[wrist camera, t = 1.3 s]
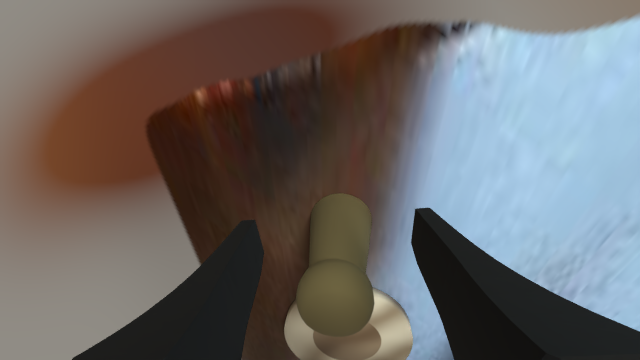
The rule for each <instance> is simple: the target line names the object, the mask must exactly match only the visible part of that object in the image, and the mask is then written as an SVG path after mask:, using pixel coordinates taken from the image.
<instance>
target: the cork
mask: <svg viewBox="0 0 640 360" xmlns="http://www.w3.org/2000/svg"><path fill="white" fill-rule="evenodd" d="M371 226H372V218H371V213H370V211H369V209H368V207H367V206H366V205H365V204H364V203H363V202H362V201H361V200H360V199H358V198H356V197H354V196H352V195H348V194H342V193H340V194H331V195H329V196H326V197H324V198H322V199H321V200H320V201H318V202H317V203H316V204H315V206H314V208H313V210H312V213H311V219H310V250H309V268H308V269H307V270H306V272H305V273H304V275H303V276H302V278H301V280H300V281H299V284H298V288H297V294H296V304H297V308H298V311H299V314H300V316H301V318H302V320H303V321H304V322H305V324H306V325H307V326H308V327H310V328H311V329H312V330H314V331H316V332H318V333H320V334H323V335H327V336H332V337H345V336H349V335H353V334H355V333H357V332H359V331H361V330H362V329H363V328H364V327H365V325H366V324H367V323H368V322H369V320H370V318H371V315H372V312H373V309H374V294H373V287H372V285H371V282H370V280H369V278H368V277H367V275H366V266H367V258H368V250H369V242H370V234H371Z"/></svg>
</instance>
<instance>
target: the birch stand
mask: <svg viewBox="0 0 640 360" xmlns="http://www.w3.org/2000/svg"><path fill="white" fill-rule="evenodd" d="M373 294H374V309H373V312H372V315H371V318H370V320H369V322H368V323H367V324H366V325H365V327H364V328H363V329H362V330H361V331H359V332H357V333H355V334H353V335H349V336H345V337H332V336H327V335H323V334H320V333H318V332H316V331H314V330H312V329H311V328H310V327H308V326H307V325H306V324H305V322H304V321H303V320H302V318H301V316H300V314H299V311H298V308H297V304H296V299H295V300H294V301H293V303H292V304H291V306H290V308H289V311H288V314H287V318H286V322H285V327H284V334H285V339H286V341H287V344H288V346H289V347H290V349H291V350H292V352H293V353H294V354H295V355H296V356H297V357H298V358H299V359H300V360H405V359H406V358H407V357H408V355H409V353H410V351H411V349H412V345H413V337H412V331H411V327H410V322H409V319H408V316H407V314H406V312H405V311H404V309H403V308H402V307H401V305H400V304H399V303H398V302H397V301H395V300H394V299H393V298H392V297H390V296H389V295H387V294H385V293H384V292H382V291H380V290H377V289H375V288H373Z"/></svg>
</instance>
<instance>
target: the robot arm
mask: <svg viewBox="0 0 640 360" xmlns="http://www.w3.org/2000/svg"><path fill="white" fill-rule="evenodd" d="M411 244H412V247H413V251H414V254H415V258H416V261H417V264H418V266H419V269H420V271H421V273H422V276H423V278H424V280H425V283H426V285H427V287H428V289H429V292H430V294H431V296H432V299H433V301H434V303H435V305H436V308H437V310H438V312H439V315H440V318H441V320H442V323H443V326H444V329H445V332H446V335H447V338H448V341H449V344H450V347H451V350H452V354H453V357H454V360H640V332H639V331H637V330H635V329H632V328H630V327H627V326H625V325H623V324H620V323H618V322H616V321H613V320H611V319H608V318H606V317H604V316H601V315H599V314H597V313H594V312H592V311H590V310H588V309H586V308H583V307H581V306H579V305H577V304H575V303H573V302H571V301H569V300H566V299H564V298H562V297H560V296H558V295H556V294H554V293H553V292H551V291H549V290H547V289H545V288H543V287H541V286H539V285H538V284H536V283H534V282H532V281H530V280H528V279H527V278H525V277H523V276H521V275H520V274H518V273H516V272H515V271H513V270H511V269H510V268H508V267H507V266H505V265H503V264H502V263H500V262H499V261H497V260H496V259H494V258H493V257H491V256H490V255H488V254H487V253H486V252H484V251H483V250H481V249H480V248H479V247H477V246H476V245H474V244H473V243H472V242H470V241H469V240H468V239H467V238H465V237H464V236H463V235H462V234H460V233H459V232H458V231H457V230H455V229H454V228H453V227H452V226H450V225H449V224H448V223H447V222H446V221H445V220H443V219H442V218H441V217H440V216H439V215H437V214H436V213H435V212H434V211H433V210H432V209H430V208H419V209H415V216H414V224H413V232H412V240H411ZM263 255H264V250H263V247H262V243H261V240H260V236H259V232H258V229H257V225H256V222H255V220H244V221H241V222H240V223H239V224H238V226H237V227H236V228H235V229H234V230H233V231H232V232H231V233H230V235H229V236H228V237H227V238H226V239H225V240H224V241H223V243H222V244H221V245H220V246H219V247H218V248H217V249H216V250H215V251H214V252H213V254H212V255H211V256H210V257H209V258H208V259H207V260H206V261H205V262H204V263H203V264H202V265H201V266H200V267H199V268H198V269H197V270H196V271H195V272H194V273H193V274H192V275H191V276H190V277H188V278H187V279H186V280H185V281H184V282H183V283H182V284H180V285H179V286H178V287H177V288H176V289H175V290H173V291H172V292H171V293H170V294H168V295H167V296H166V297H165V298H163V299H162V300H161V301H159V302H158V303H157V304H155V305H154V306H153V307H152V308H150V309H149V310H148V311H146V312H145V313H144V314H142V315H141V316H139V317H138V318H137V319H135V320H133V321H132V322H131V323H129V324H128V325H126V326H125V327H123V328H122V329H120V330H119V331H117V332H115V333H114V334H112V335H111V336H109V337H107V338H106V339H104V340H102V341H101V342H99V343H98V344H96V345H94V346H93V347H91V348H89V349H88V350H86V351H84V352H83V353H81V354H79V355H77V356H76V357H74V358H73V359H72V360H241V357H242V351H243V345H244V339H245V333H246V328H247V324H248V320H249V316H250V312H251V309H252V305H253V301H254V298H255V294H256V290H257V287H258V283H259V279H260V275H261V270H262V263H263Z"/></svg>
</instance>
